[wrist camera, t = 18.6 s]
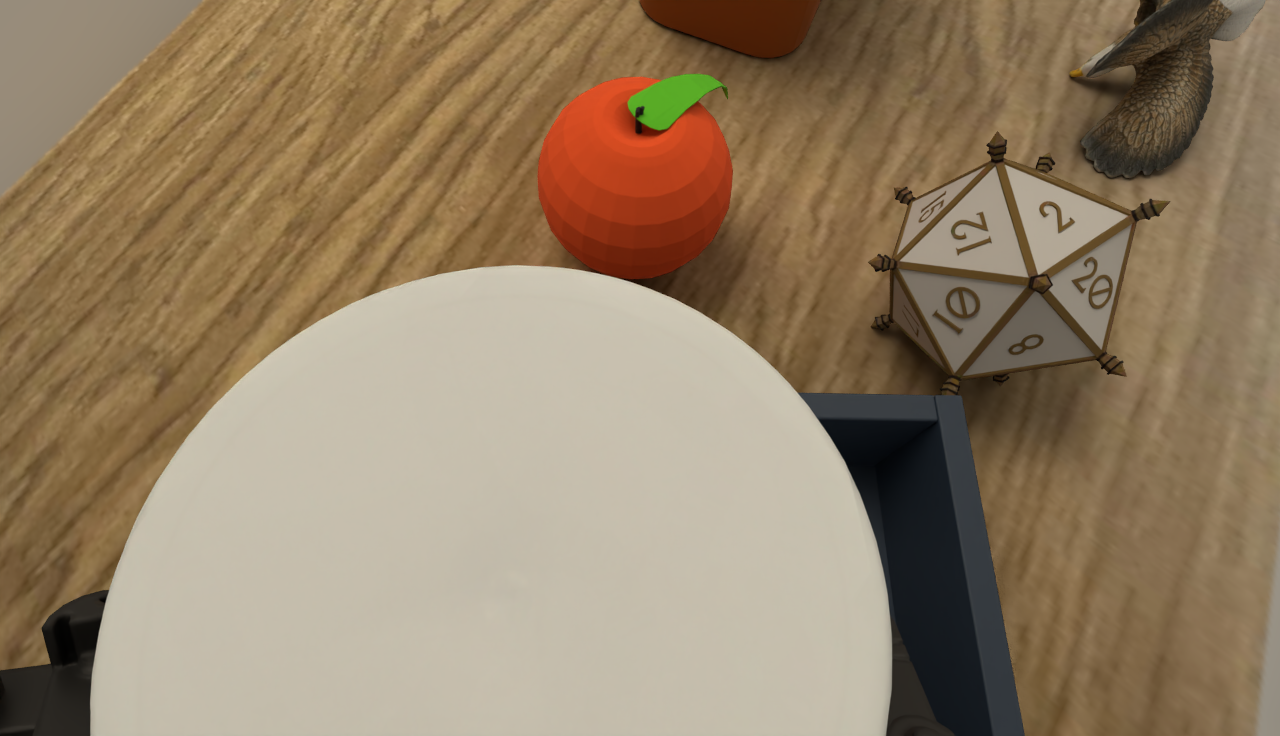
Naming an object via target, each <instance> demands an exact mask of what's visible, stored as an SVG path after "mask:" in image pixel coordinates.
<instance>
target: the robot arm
mask: <svg viewBox="0 0 1280 736" xmlns="http://www.w3.org/2000/svg"><path fill="white" fill-rule="evenodd" d="M108 593H109V590H103V591H99V592H95V593H92V594H88V595H84V596H81V597H79V598H77V599H75V600H73V601H71V602H69V603H67V604H65V605H63V606H62V607H61V608H59V609H58V610H57V611H55V612H54V613H53V614H52V615H50V616H49V617H48V619H47V621H46V622H45V624H44V625H43V627H42V632H43V636H44V639H45V643H46V647H47V651H48V654H49V658H50V662H51V664H47V665H40V666H32V667H24V668H17V669H9V670H1V671H0V736H90V721H91V710H90V696H91V681H92V671H93V665H94V659H95V653H96V647H97V641H98V635H99V630H100V626H101V621H102V617H103V612H104V608H105V603H106V599H107V596H108ZM890 622H891V631H892V691H891V698H890V706H889V714H888V722H887V731H886V736H955V734H954V733H953V732H952V731H951V730H949V729H948V728H946V727H945V726H943V725H941V724H940V723H938V722H937V721H936V718H935V716H934V714H933V711H932V709H931V707H930V704H929V702H928V699H927V697H926V695H925V692H924V690H923V688H922V685H921V683H920V680H919V678H918V676H917V673H916V671H915V669H914V666H913V664H912V661H910V657H909V654H908V652H907V650H906V647H905V645H903V640H902V638H901V635H900V633H899V631H898V628H897V626H896V623H895V621H894V620H893V619H892V618H891V616H890Z"/></svg>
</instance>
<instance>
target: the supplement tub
mask: <svg viewBox="0 0 1280 736" xmlns="http://www.w3.org/2000/svg"><path fill="white" fill-rule="evenodd" d="M891 691H892V631H891V622H890V612H889V602H888V593H887V588H886V582H885V577H884V572H883V567H882V563H881V559H880V555H879V550H878V546H877V542H876V539H875V536H874V533H873V530H872V527H871V524H870V521H869V518H868V515H867V512H866V510H865V507H864V504H863V501H862V499H861V496H860V493H859V491H858V489H857V487H856V485H855V483H854V480H853V478H852V476H851V474H850V472H849V470H848V468H847V465H846V463H845V461H844V459H843V458H842V456H841V454H840V453H839V451H838V449H837V448H836V446H835V444H834V443H833V441H832V439H831V438H830V436H829V435H828V433H827V432H826V430H825V429H824V428H823V426H822V425H821V423H820V422H819V420H818V419H817V418H816V416H815V415H814V413H813V412H812V410H811V409H810V407H809V406H808V405H807V404H806V402H805V401H804V400H803V399H802V398H801V397H800V395H799V394H798V393H797V392H796V391H795V390H794V389H793V387H792V386H791V385H790V384H789V383H788V382H787V381H786V380H785V379H784V378H783V377H782V376H781V374H780V373H779V372H778V371H777V370H776V369H775V368H773V367H772V366H771V365H770V364H769V363H768V362H767V361H766V360H765V359H764V358H763V357H762V356H761V355H759V354H758V353H757V352H756V351H755V350H754V349H752V348H751V347H750V346H749V345H747V344H746V343H745V342H743V341H742V340H741V339H740V338H738V337H737V336H736V335H734V334H733V333H732V332H730V331H729V330H727V329H726V328H724V327H722V326H721V325H719V324H718V323H716V322H715V321H713V320H711V319H710V318H708V317H707V316H705V315H703V314H702V313H700V312H698V311H697V310H695V309H693V308H691V307H689V306H687V305H685V304H683V303H681V302H679V301H678V300H676V299H673V298H671V297H669V296H666V295H664V294H661V293H659V292H656V291H654V290H651V289H649V288H646V287H643V286H640V285H638V284H635V283H632V282H629V281H625V280H621V279H618V278H614V277H611V276H606V275H602V274H597V273H592V272H587V271H582V270H575V269H568V268H559V267H547V266H518V265H514V266H497V267H480V268H474V269H468V270H462V271H456V272H450V273H444V274H439V275H435V276H431V277H427V278H423V279H419V280H415V281H412V282H409V283H405V284H402V285H399V286H396V287H393V288H390V289H386V290H383V291H381V292H378V293H376V294H373V295H371V296H368V297H366V298H363V299H361V300H359V301H356V302H354V303H352V304H350V305H348V306H346V307H344V308H342V309H340V310H338V311H337V312H335V313H333V314H331V315H329V316H327V317H325V318H323V319H321V320H320V321H318V322H316V323H315V324H313V325H312V326H310V327H308V328H307V329H305V330H304V331H302V332H300V333H299V334H297V335H296V336H294V337H293V338H291V339H290V340H288V341H287V342H286V343H284V344H283V345H281V346H280V347H279V348H277V349H276V350H275V351H273V352H272V353H271V354H269V355H268V356H267V357H266V358H265V359H263V360H262V361H261V362H260V363H259V364H258V365H256V366H255V367H254V368H253V369H252V370H250V371H249V372H248V373H247V374H246V375H245V376H244V377H242V378H241V379H240V380H239V381H238V382H237V383H236V384H235V385H234V386H233V387H232V388H231V389H230V390H229V391H228V392H227V393H226V394H225V395H224V396H223V397H222V398H221V399H220V400H219V401H218V402H217V403H216V404H215V405H214V406H213V407H212V408H211V409H210V410H209V411H208V413H207V414H206V415H205V416H204V417H203V419H202V420H201V421H200V422H199V423H198V425H197V426H196V427H195V428H194V429H193V431H192V432H191V433H190V434H189V435H188V437H187V438H186V440H185V441H184V442H183V444H182V445H181V447H180V448H179V449H178V451H177V452H176V454H175V455H174V457H173V458H172V460H171V461H170V463H169V464H168V466H167V467H166V468H165V470H164V471H163V473H162V474H161V476H160V477H159V479H158V480H157V482H156V484H155V485H154V487H153V489H152V491H151V493H150V495H149V496H148V498H147V500H146V502H145V504H144V505H143V507H142V509H141V511H140V513H139V515H138V517H137V519H136V521H135V524H134V526H133V528H132V531H131V533H130V535H129V538H128V540H127V542H126V544H125V547H124V550H123V553H122V556H121V558H120V561H119V563H118V566H117V569H116V571H115V574H114V577H113V580H112V583H111V586H110V589H109V593H108V596H107V599H106V603H105V608H104V612H103V617H102V621H101V626H100V630H99V635H98V641H97V647H96V653H95V659H94V665H93V671H92V681H91V696H90V710H91V721H90V736H886V731H887V722H888V714H889V706H890V698H891Z"/></svg>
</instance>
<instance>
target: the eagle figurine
mask: <svg viewBox="0 0 1280 736" xmlns="http://www.w3.org/2000/svg"><path fill="white" fill-rule="evenodd" d="M1264 4H1265V0H1140V7H1139V9H1138V11H1137V17H1136V18H1135V19H1134V24H1135V27H1134V28H1133V29H1131V30H1129V31H1128V32H1126V33H1125V34H1123V35H1122V36H1121V37H1119V39H1118V40H1116V41H1115V42H1113V43H1112V44H1111V45H1109V46H1108V47H1107V48H1105V49H1104V50H1102V51H1101V52H1099V53H1097V54H1096V55H1094V56H1093V57H1092V58H1090V59H1089V60H1088V61H1087V62H1086V63H1085V64H1084V65H1082V66H1081V67H1080V68H1078V69H1077V70H1075V71H1071V72H1070V76H1071V77H1079V76H1086V77H1088V78H1094V77H1098V76H1100V75H1103V74H1105V73H1107V72H1110V71H1112V70H1114V69H1116V68H1118V67H1122V66H1128V65H1133V66H1134V67H1135V70H1136V79H1135V82H1134V84H1133V85H1132V86H1131V88H1130V89H1129V91H1128V92H1127V94H1126V95H1125V96H1124V98H1123V99H1122V101H1121V102H1120V103H1119V105H1118V106H1117V107H1116V108H1115V109H1114V110H1113V111H1112V112H1111V113H1109V114H1108V115H1107V116H1106V117H1105V118H1103V119H1102V120H1101V121H1100V122H1099V123H1097V125H1096V126H1095V127H1093V128H1092V129H1091V130H1090V131H1089V132H1088V133H1087V134H1086V135H1085V136H1084V137H1083V138H1082V140H1081V142H1080V143H1081V145H1082V146H1083V147H1085V148H1086V154H1085V155H1086V158H1087V159H1089V160H1092V161H1094V168H1095V169H1096V170H1097V171H1098V172H1105V173H1106V175H1107V176H1108V177H1113V178H1114V177H1116V176H1118V175H1121V174H1123V175H1124V177H1125V178H1132V177H1134V176H1135V175H1137V174H1138V173H1139V172H1140V171H1141V170H1142V171H1143V174H1144V175H1149V174H1151V172H1152V171H1153V170H1154V169H1156V170H1157V171H1161V170H1164V168H1166V167H1167V166H1169V165H1171V164H1172V163H1173V161H1174V160H1176V159H1178V158H1180V157H1181V155H1182V153H1183V151H1184V150H1185V149H1187V148H1188V147H1189V145H1190V143H1191V140H1192V138H1193V137H1194V136H1195V134H1196V132H1197V130H1198V128H1199V125H1200V120H1202V119H1203V117H1204V113H1205V112H1206V110H1207V104H1208V103H1209V102H1210V98H1211V91H1212V88H1213V85H1212V81H1213V74H1212V71H1213V67H1212V65H1211V60H1212V59H1211V55H1210V54H1209V50H1210V44H1209V39H1217V40H1222V41H1231V40H1234V39H1236V38H1237V37H1239V36H1240V35H1241V34H1242V33H1243V32H1245V30H1246V29H1247V28H1248V27H1249V25H1250V23H1251V22H1252V21H1253V19H1254V17H1255V16H1256V14H1257V13H1258V12H1259V11H1260V10H1261V9H1262V7H1263V6H1264Z"/></svg>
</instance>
